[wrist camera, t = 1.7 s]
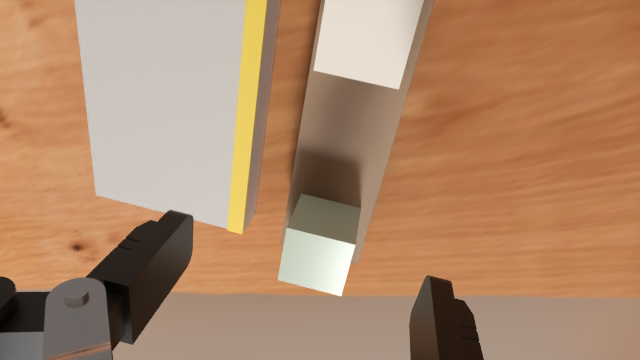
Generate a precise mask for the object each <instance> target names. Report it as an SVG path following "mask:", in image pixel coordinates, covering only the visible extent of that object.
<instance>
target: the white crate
mask: <svg viewBox="0 0 640 360" xmlns="http://www.w3.org/2000/svg"><path fill="white" fill-rule="evenodd" d="M423 2H424V0H325V5H324V10H323V16H322V22H321V28H320V34H319V40H318V46H317V52H316V58H315V64H314V69H313V71H318V72H322V73H327V74H331V75H336V76H340V77H345V78H349V79H354V80H358V81H363V82H367V83H371V84H376V85H380V86H385V87H389V88H394V89H398V90H399V87H400V84H401V80H402V77H403V73H404V70H405V66H406V62H407V59H408V55H409V52H410V48H411V44H412V41H413V37H414V34H415V30H416V27H417V23H418V19H419V16H420V12H421V9H422V5H423Z"/></svg>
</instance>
